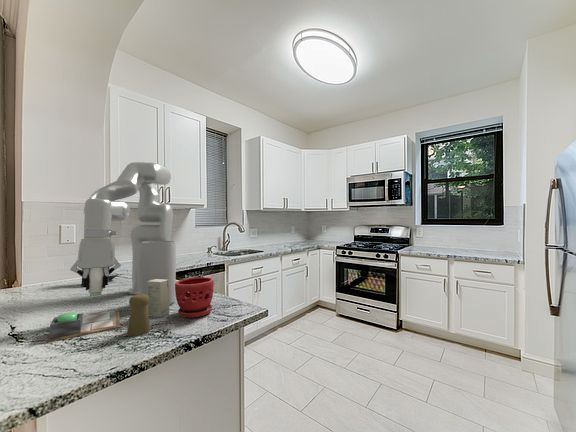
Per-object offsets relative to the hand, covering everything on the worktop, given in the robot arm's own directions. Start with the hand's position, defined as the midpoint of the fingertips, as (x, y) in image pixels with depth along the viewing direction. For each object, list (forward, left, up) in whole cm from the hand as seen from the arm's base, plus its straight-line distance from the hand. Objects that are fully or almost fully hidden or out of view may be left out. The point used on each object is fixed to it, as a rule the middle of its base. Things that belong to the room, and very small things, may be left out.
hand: (95, 288), depth 88 cm
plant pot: (-29, +14, -11) cm, 34 cm away
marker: (0, 0, -2) cm, 2 cm away
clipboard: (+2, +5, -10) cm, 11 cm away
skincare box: (-18, +8, -11) cm, 22 cm away
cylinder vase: (-20, -6, -11) cm, 24 cm away
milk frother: (0, -65, -11) cm, 66 cm away
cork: (-11, +21, -11) cm, 26 cm away
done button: (+6, +10, -7) cm, 14 cm away
